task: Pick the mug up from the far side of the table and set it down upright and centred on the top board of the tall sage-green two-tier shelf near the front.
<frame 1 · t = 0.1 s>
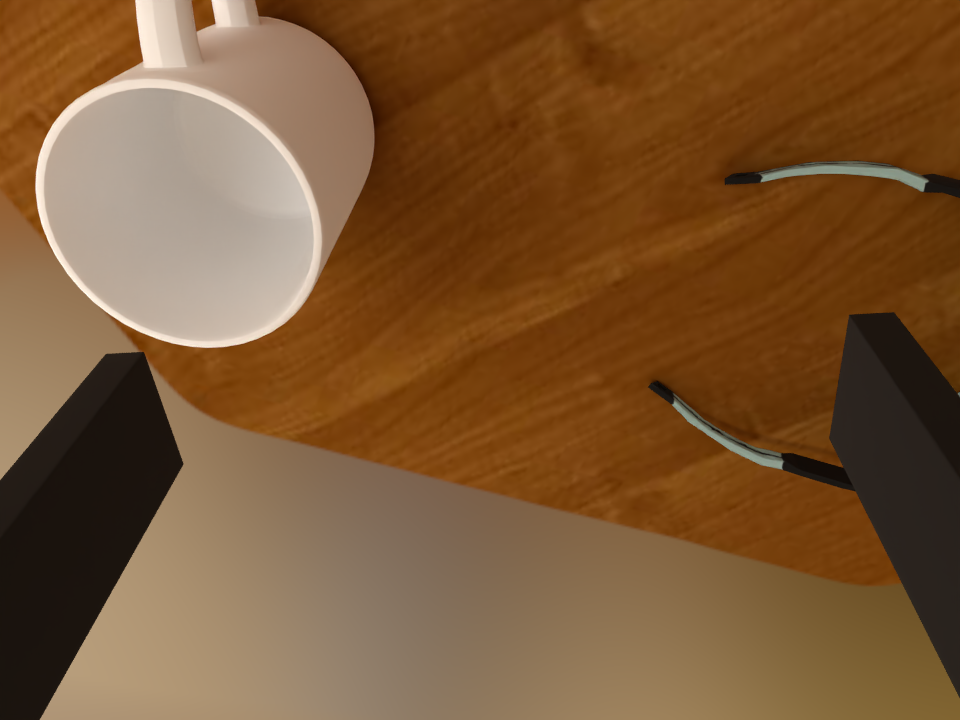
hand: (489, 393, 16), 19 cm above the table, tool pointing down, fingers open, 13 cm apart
sunglasses: (845, 315, 36), on the table
mug: (268, 73, 32), on the table
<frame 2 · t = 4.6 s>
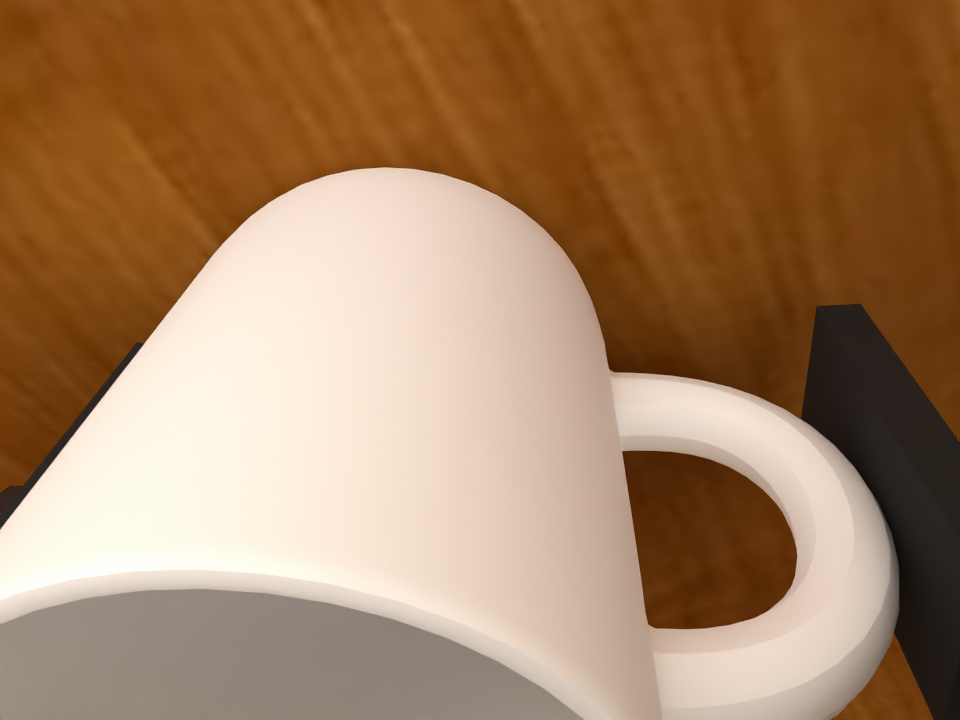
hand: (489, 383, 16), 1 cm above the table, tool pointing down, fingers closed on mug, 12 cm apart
mug: (493, 341, 17), on the table, touching gripper
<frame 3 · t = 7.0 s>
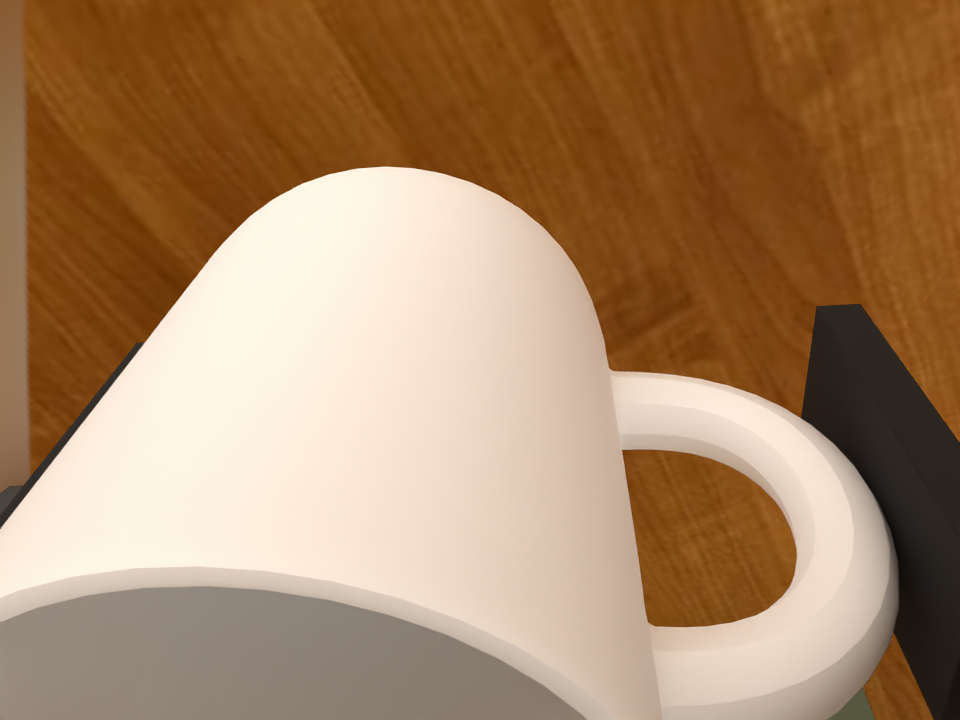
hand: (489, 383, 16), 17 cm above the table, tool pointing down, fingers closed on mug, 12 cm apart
mug: (493, 341, 17), point 16 cm above the table, touching gripper
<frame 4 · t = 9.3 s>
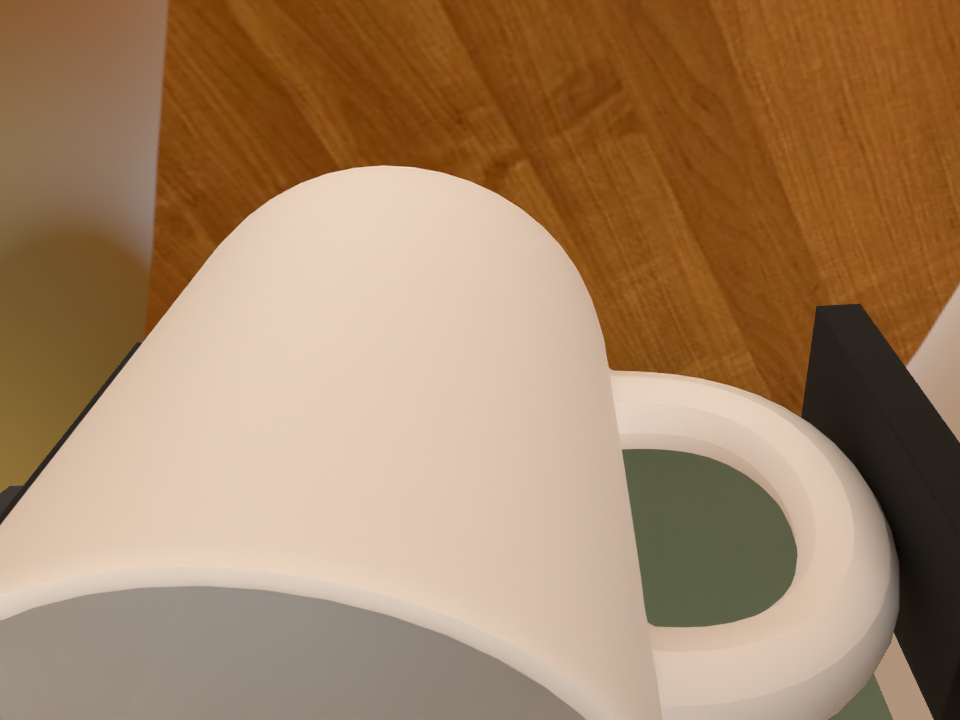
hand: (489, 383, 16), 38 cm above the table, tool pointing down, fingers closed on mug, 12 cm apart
shelf: (671, 471, 65), on the table
mug: (493, 340, 17), point 36 cm above the table, touching gripper
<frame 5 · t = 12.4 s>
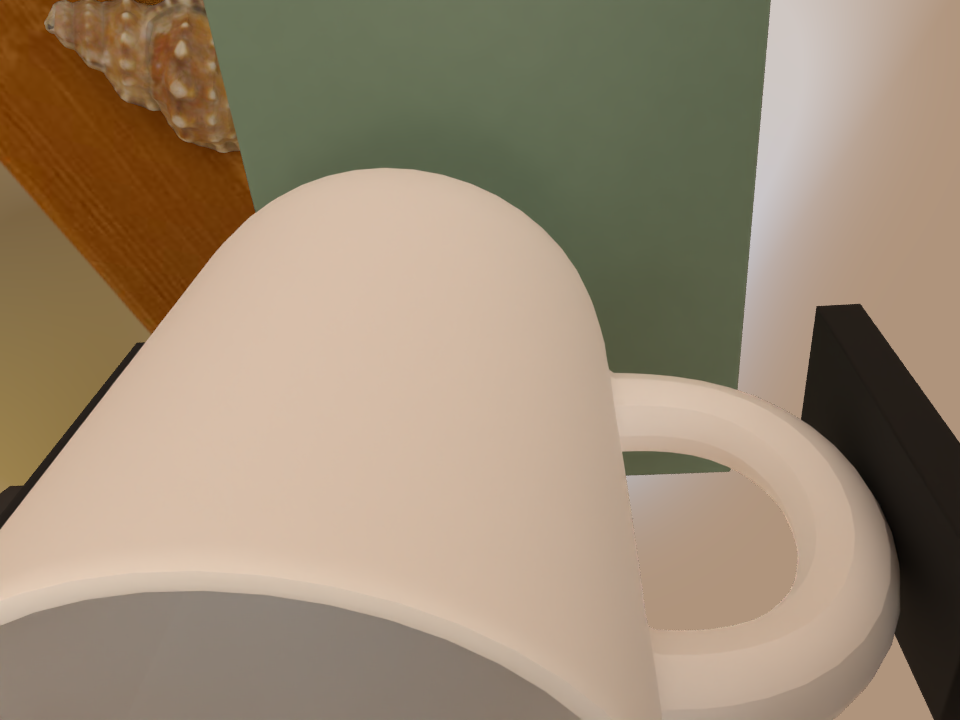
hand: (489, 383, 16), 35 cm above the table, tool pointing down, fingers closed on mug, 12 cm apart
shelf: (518, 33, 46), on the table
seashell: (191, 60, 48), on the table
mug: (493, 342, 17), point 34 cm above the table, touching gripper
when the fingers open (31 cm above the table, at t = 14.1 s): mug stays where it is, resting on shelf.
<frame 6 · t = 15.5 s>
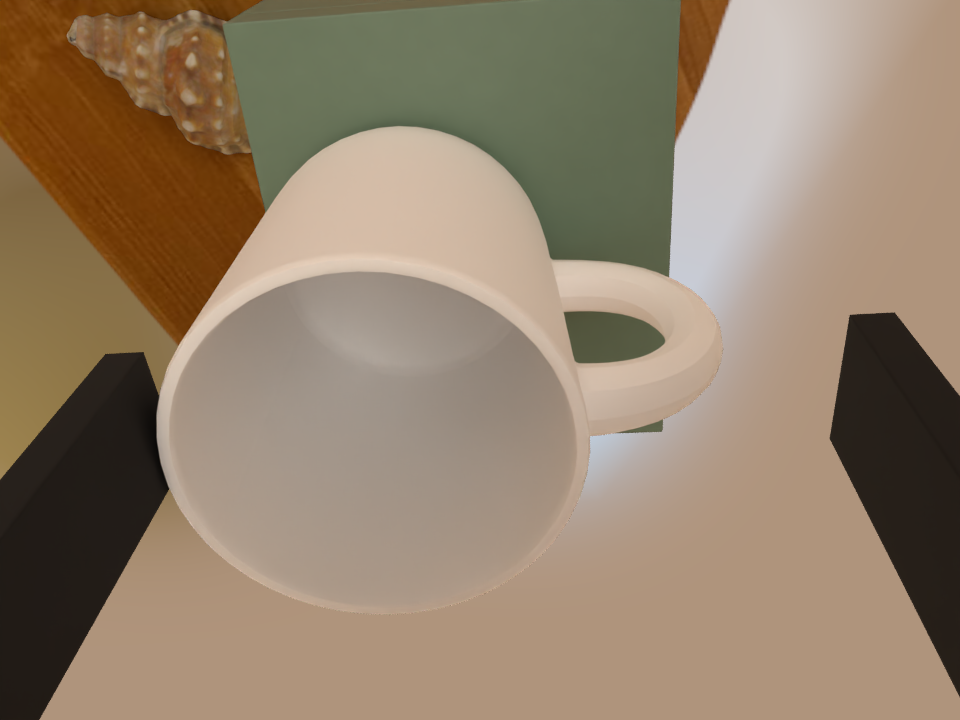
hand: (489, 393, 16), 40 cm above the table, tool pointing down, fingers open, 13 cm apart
shelf: (499, 48, 51), on the table
seashell: (199, 69, 52), on the table
mug: (470, 254, 25), point 30 cm above the table, touching shelf
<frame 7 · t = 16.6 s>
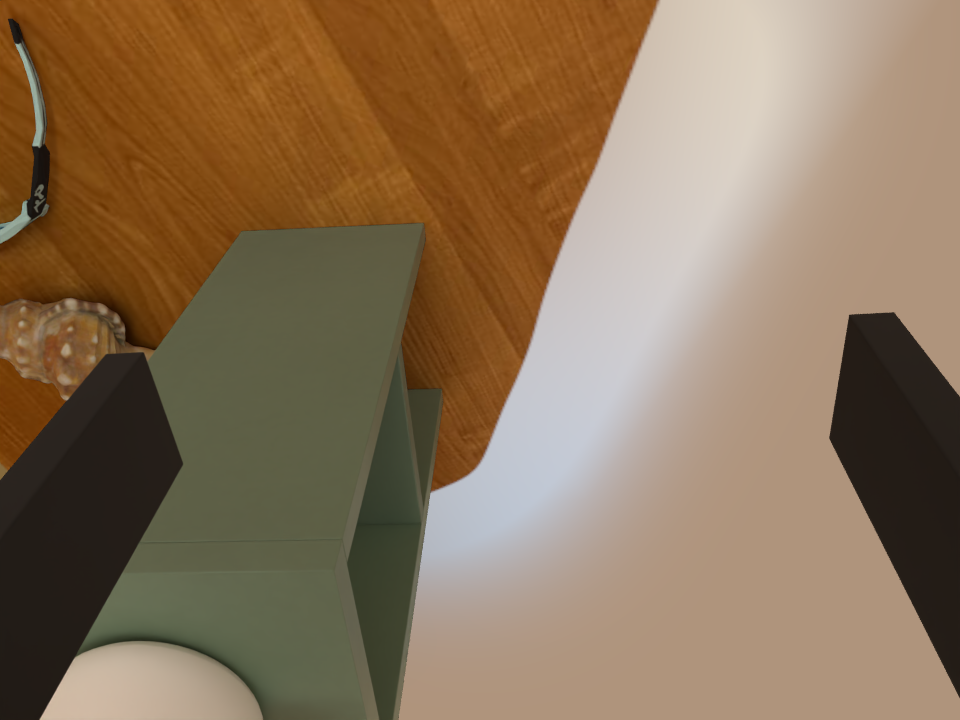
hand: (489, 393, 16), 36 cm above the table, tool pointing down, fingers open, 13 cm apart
shelf: (348, 321, 57), on the table
seashell: (84, 329, 59), on the table
mug: (210, 702, 32), point 30 cm above the table, touching shelf
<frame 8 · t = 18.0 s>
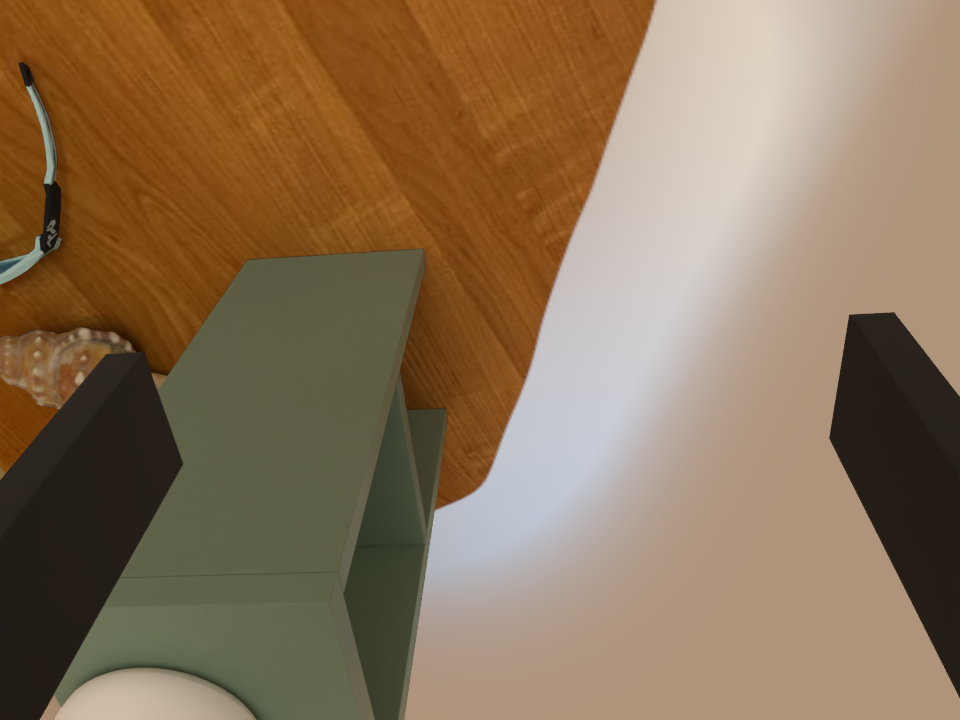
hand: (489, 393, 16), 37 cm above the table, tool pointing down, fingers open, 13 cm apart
shelf: (352, 344, 59), on the table
seashell: (98, 356, 60), on the table
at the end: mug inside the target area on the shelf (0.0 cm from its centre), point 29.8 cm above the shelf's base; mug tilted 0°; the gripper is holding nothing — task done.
